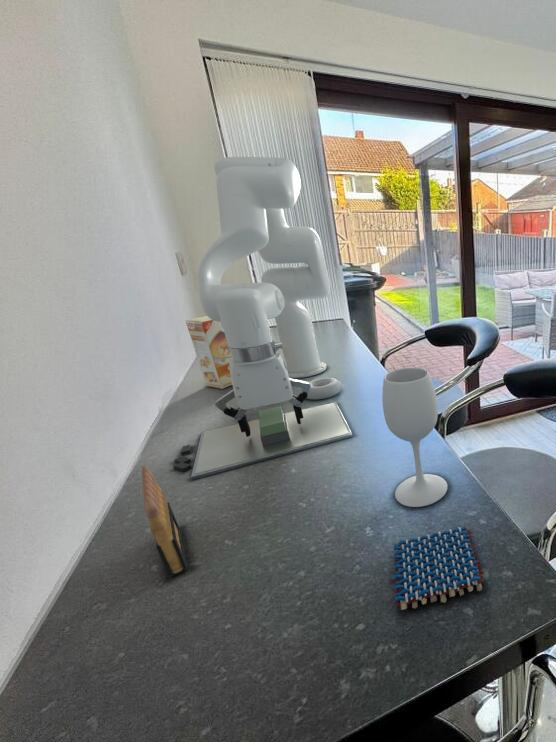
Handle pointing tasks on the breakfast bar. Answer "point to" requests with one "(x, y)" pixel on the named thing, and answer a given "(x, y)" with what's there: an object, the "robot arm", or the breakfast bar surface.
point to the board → (237, 450)
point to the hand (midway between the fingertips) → (274, 427)
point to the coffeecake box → (211, 351)
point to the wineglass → (413, 429)
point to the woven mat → (435, 567)
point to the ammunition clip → (163, 525)
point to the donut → (323, 388)
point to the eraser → (273, 426)
